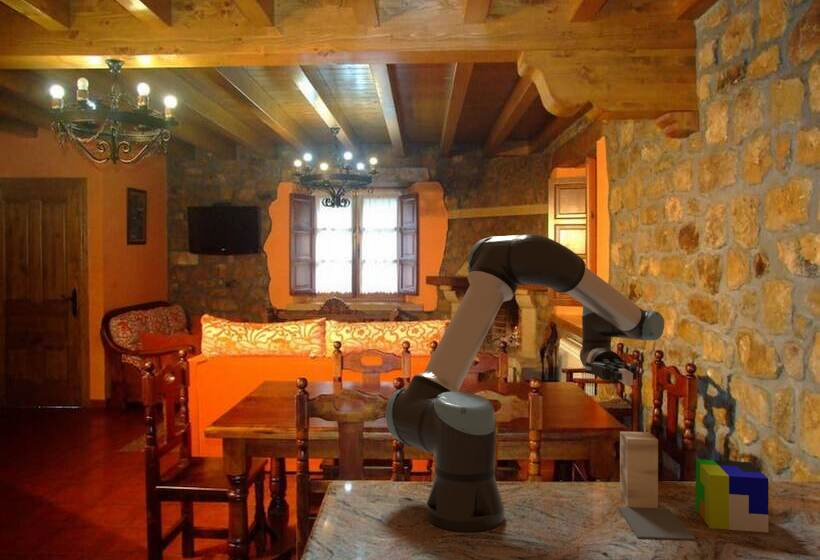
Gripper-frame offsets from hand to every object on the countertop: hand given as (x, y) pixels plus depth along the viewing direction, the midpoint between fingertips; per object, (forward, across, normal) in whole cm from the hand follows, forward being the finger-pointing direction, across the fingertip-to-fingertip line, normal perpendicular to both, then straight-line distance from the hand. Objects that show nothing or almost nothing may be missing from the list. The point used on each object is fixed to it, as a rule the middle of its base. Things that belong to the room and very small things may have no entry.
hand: (629, 379), depth 134 cm
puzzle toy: (+15, -15, -25) cm, 33 cm away
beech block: (+8, 0, -24) cm, 26 cm away
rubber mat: (+18, 0, -24) cm, 30 cm away
